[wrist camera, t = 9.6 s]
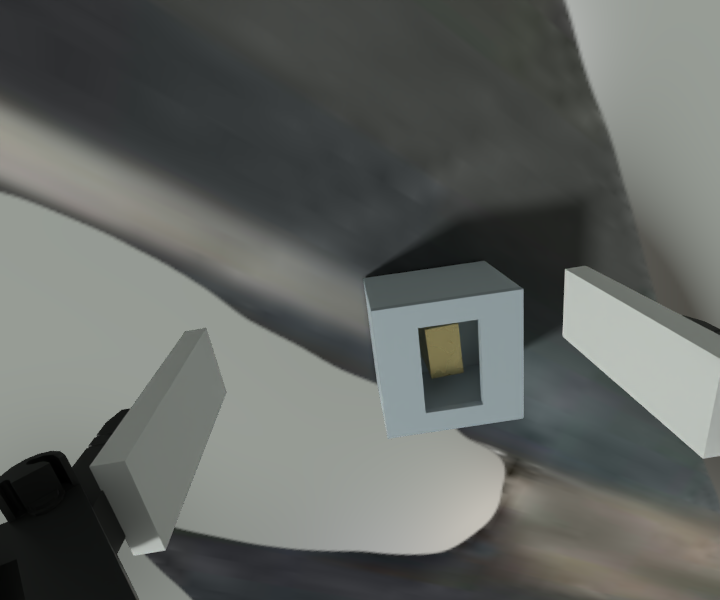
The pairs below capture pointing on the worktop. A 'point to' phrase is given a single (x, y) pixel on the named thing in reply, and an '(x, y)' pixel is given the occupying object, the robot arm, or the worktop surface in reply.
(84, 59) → the worktop surface
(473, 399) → the grey square hollow box
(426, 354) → the block
